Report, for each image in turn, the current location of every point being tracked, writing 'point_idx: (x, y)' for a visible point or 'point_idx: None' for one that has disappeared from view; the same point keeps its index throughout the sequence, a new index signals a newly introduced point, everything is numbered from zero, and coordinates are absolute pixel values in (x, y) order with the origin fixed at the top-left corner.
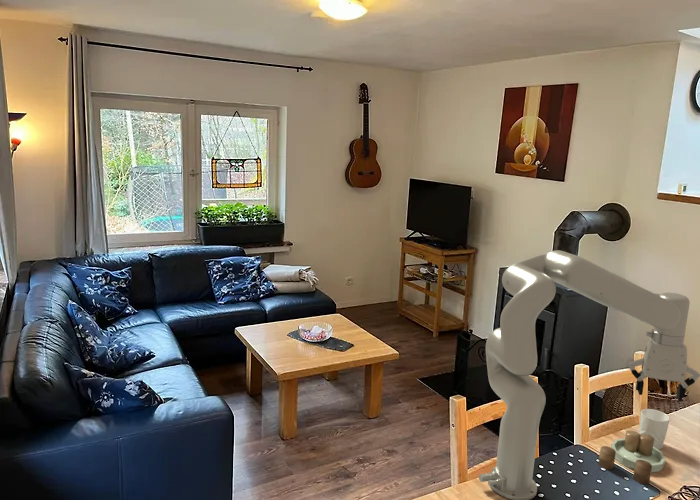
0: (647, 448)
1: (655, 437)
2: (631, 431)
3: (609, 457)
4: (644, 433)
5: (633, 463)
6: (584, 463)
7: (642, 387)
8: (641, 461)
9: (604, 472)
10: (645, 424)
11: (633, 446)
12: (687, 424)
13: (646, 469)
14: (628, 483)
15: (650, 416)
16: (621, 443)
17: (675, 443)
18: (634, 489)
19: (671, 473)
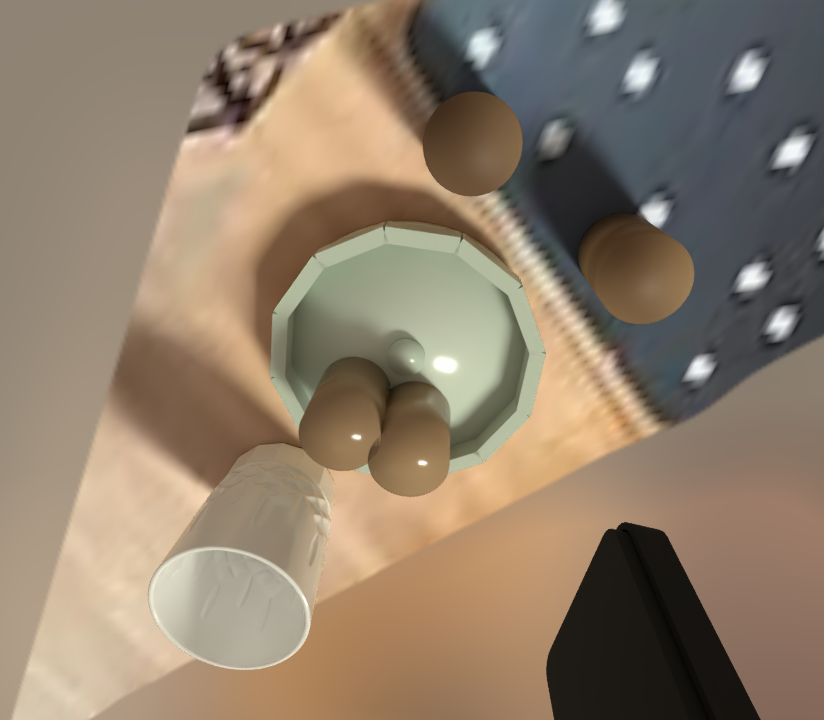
0: (350, 376)
1: (267, 480)
2: (408, 487)
3: (648, 229)
4: (315, 509)
5: (477, 247)
6: (742, 250)
7: (685, 653)
8: (476, 173)
9: (663, 175)
10: (306, 546)
11: (417, 398)
12: (60, 651)
13: (474, 92)
14: (566, 80)
15: (245, 625)
16: (450, 449)
17: (159, 505)
18: (558, 17)
19: (270, 236)
